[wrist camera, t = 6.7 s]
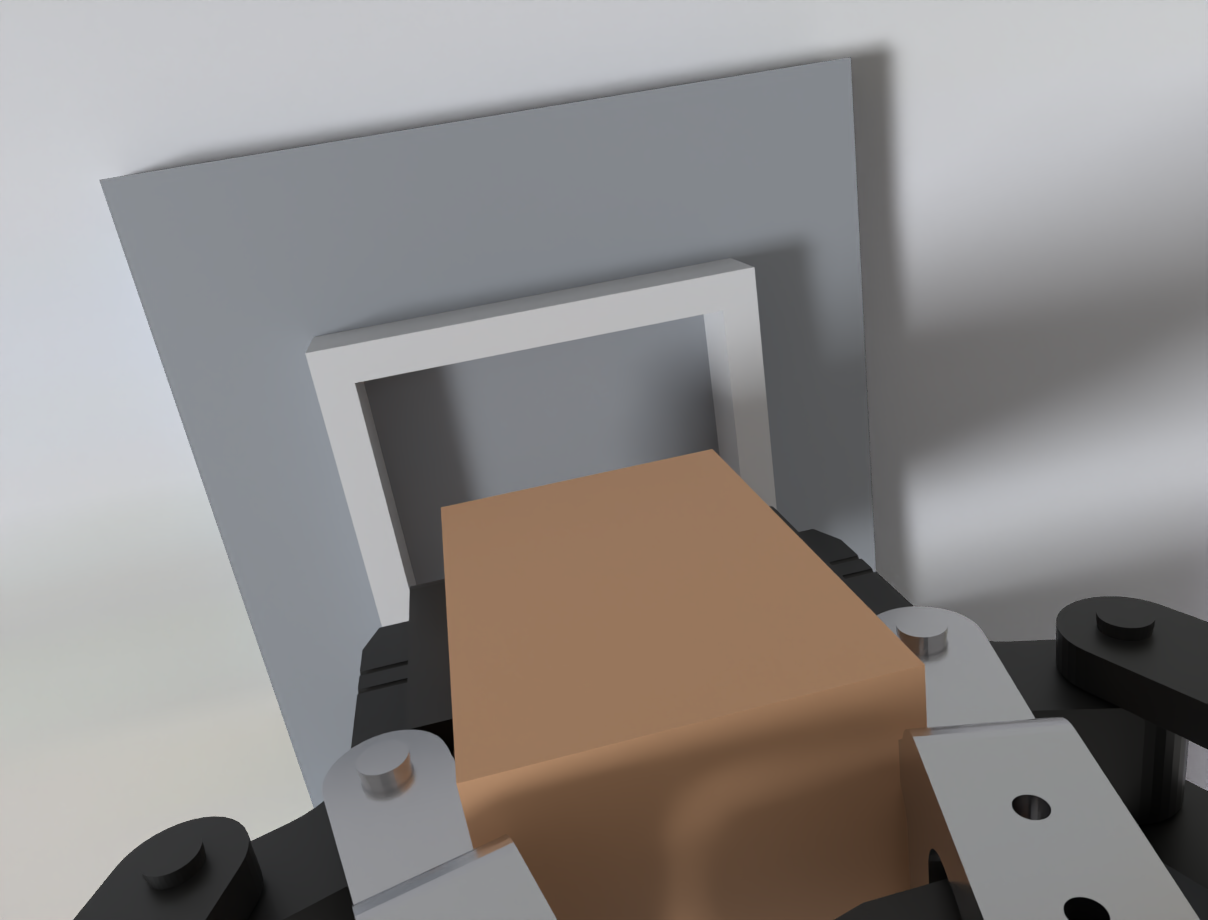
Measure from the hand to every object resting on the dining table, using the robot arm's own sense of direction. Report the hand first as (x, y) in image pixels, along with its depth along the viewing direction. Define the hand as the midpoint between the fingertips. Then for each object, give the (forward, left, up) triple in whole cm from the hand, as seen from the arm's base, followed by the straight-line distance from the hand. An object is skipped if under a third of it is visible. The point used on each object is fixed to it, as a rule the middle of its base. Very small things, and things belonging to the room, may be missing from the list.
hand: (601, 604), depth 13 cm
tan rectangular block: (0, 0, 0) cm, 0 cm away
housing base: (+4, 0, -5) cm, 6 cm away
